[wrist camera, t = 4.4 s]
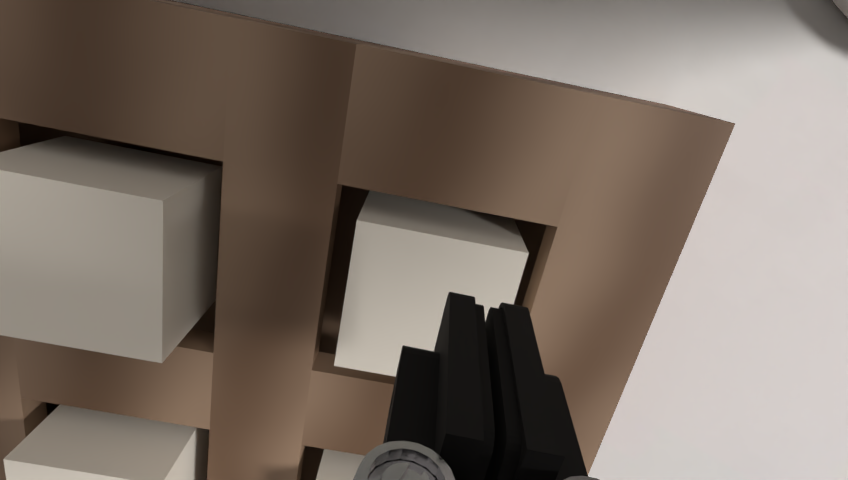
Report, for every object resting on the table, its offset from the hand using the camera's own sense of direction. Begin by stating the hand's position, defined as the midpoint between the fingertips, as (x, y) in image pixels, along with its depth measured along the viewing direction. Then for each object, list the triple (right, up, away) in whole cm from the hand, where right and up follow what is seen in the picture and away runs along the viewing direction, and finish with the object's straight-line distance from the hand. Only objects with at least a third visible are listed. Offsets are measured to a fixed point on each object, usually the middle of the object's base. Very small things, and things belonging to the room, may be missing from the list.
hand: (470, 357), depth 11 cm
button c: (-10, +3, +5) cm, 11 cm away
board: (-6, -1, +9) cm, 11 cm away
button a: (-1, +2, +7) cm, 7 cm away
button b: (-11, -5, +8) cm, 15 cm away
